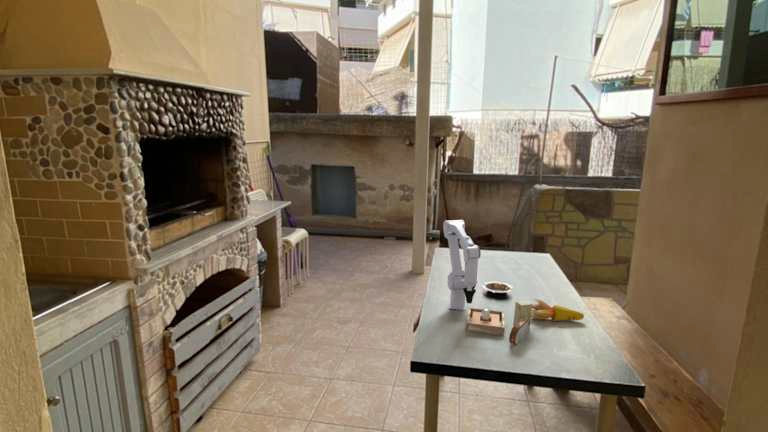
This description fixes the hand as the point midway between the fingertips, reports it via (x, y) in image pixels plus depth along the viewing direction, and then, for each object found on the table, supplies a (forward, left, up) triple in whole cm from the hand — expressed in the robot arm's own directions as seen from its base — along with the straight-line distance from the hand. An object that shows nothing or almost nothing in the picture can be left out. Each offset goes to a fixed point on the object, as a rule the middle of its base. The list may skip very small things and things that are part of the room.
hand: (469, 299), depth 191 cm
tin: (+13, +22, -11) cm, 27 cm away
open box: (+3, +8, -10) cm, 13 cm away
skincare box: (+1, +24, -11) cm, 26 cm away
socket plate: (+3, +8, -10) cm, 13 cm away
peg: (+3, +8, -10) cm, 13 cm away
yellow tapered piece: (-11, +39, -11) cm, 42 cm away
